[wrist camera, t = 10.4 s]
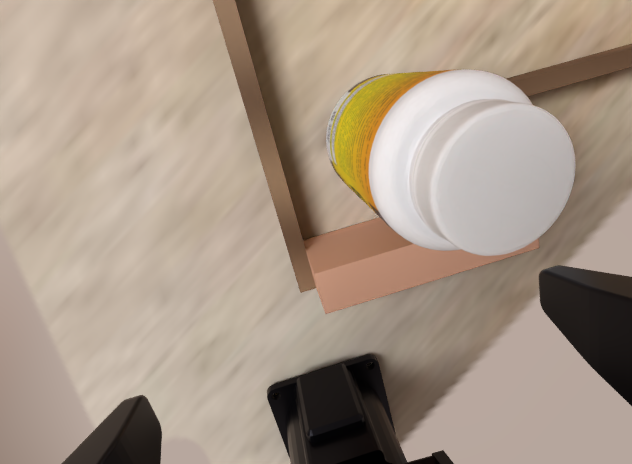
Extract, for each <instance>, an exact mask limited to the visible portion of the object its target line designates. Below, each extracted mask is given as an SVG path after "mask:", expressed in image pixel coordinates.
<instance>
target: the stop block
mask: <svg viewBox="0 0 632 464" xmlns="http://www.w3.org/2000/svg"><path fill="white" fill-rule="evenodd" d="M303 242H304V246H305V249H306V253H307V257H308V260H309V264H310V267H311V271H312V274H313V278H314V281H315V285H316V288H317V291H318V294H319V297H320V299H321V302H322V305H323V308H324V311H325V313H326V314H328V313H331V312H334V311H337V310H340V309H344V308H347V307H350V306H353V305H357V304H360V303H363V302H366V301H370V300H373V299H376V298H379V297H382V296H386V295H389V294H392V293H395V292H399V291H402V290H405V289H408V288H412V287H415V286H418V285H421V284H424V283H428V282H431V281H434V280H437V279H441V278H444V277H447V276H450V275H454V274H457V273H460V272H463V271H466V270H470V269H473V268H476V267H479V266H483V265H486V264H489V263H492V262H495V261H499V260H502V259H505V258H508V257H512V256H515V255H518V254H521V253H525V252H528V251H531V250H534V249H537V248H539V238H538V239H536V240H535V241H533V242H532V243H530V244H529V245H527V246H525V247H524V248H521V249H519V250H516V251H514V252H511V253H508V254H503V255H496V256H482V255H477V254H472V253H469V252H466V251H464V250H462V249H461V250H452V251H440V250H432V249H428V248H424V247H421V246H418V245H416V244H413V243H411V242H409V241H408V240H406V239H404V238H403V237H402V236H400V235H399V234H398V233H396V232H395V231H394V230H393V229H392V228H391V227H389V226H388V225H387V224H386V223H385V222H384V220H382V219H381V218H376V219H373V220H369V221H366V222H363V223H359V224H356V225H353V226H349V227H346V228H342V229H339V230H336V231H332V232H329V233H326V234H322V235H319V236H315V237H312V238H309V239H305V240H303Z"/></svg>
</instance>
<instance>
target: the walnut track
mask: <svg viewBox="0 0 632 464" xmlns="http://www.w3.org/2000/svg"><path fill="white" fill-rule="evenodd" d="M213 3H214V6H215V9H216V13H217V16H218V19H219V23H220V26H221V29H222V33H223V36H224V39H225V42H226V46H227V49H228V52H229V56H230V59H231V62H232V66H233V69H234V72H235V76H236V79H237V82H238V86H239V89H240V92H241V96H242V99H243V102H244V106H245V109H246V112H247V116H248V119H249V122H250V126H251V129H252V132H253V136H254V139H255V142H256V146H257V149H258V152H259V156H260V159H261V162H262V166H263V169H264V172H265V176H266V179H267V182H268V186H269V189H270V192H271V196H272V199H273V202H274V206H275V209H276V212H277V216H278V219H279V222H280V226H281V229H282V232H283V236H284V239H285V242H286V246H287V249H288V252H289V256H290V259H291V262H292V266H293V269H294V272H295V276H296V279H297V282H298V286H299V289H300V292H304V291H308V290H311V289H314V288H316V285H315V281H314V278H313V274H312V271H311V267H310V264H309V260H308V257H307V253H306V249H305V246H304V242H303V239H302V235H301V232H300V228H299V225H298V221H297V218H296V214H295V211H294V207H293V204H292V200H291V196H290V193H289V189H288V186H287V182H286V179H285V175H284V172H283V168H282V165H281V161H280V158H279V154H278V150H277V147H276V143H275V140H274V136H273V133H272V129H271V126H270V122H269V119H268V115H267V112H266V108H265V105H264V101H263V97H262V94H261V90H260V87H259V83H258V80H257V76H256V73H255V69H254V66H253V62H252V59H251V55H250V52H249V48H248V44H247V41H246V37H245V34H244V30H243V27H242V23H241V20H240V16H239V13H238V9H237V6H236V2H235V0H213ZM630 67H632V44H629V45H625V46H622V47H618V48H615V49H611V50H607V51H604V52H600V53H597V54H593V55H589V56H586V57H582V58H579V59H575V60H572V61H568V62H564V63H561V64H557V65H554V66H550V67H546V68H543V69H539V70H536V71H532V72H529V73H525V74H521V75H518V76H514V77H511V78H507V80H509V81H510V82H512V83H513V84H514V85H516V86H517V87H518V88H519V89H521V90H522V91H523V92H524V94H525V95H526V96H531V95H534V94H538V93H541V92H545V91H548V90H552V89H555V88H559V87H562V86H566V85H570V84H573V83H577V82H580V81H584V80H587V79H591V78H594V77H598V76H601V75H605V74H608V73H612V72H615V71H619V70H623V69H626V68H630Z"/></svg>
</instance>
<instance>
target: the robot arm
mask: <svg viewBox="0 0 632 464" xmlns="http://www.w3.org/2000/svg"><path fill="white" fill-rule="evenodd" d="M539 290H540V303H541V306H542V309H543V310H544V312H545V313H546V314H547V316H548V317H549V318H550V319H551V320H552V322H553V323H554V324H555V325H556V326H557V328H559V330H560V331H561V332H562V333H563V335H564V336H565V337H566V338H567V339H568V341H569V342H570V343H571V344H572V345H573V346H574V348H575V349H576V350H577V351H578V352H579V353H580V355H581V356H582V357H583V358H584V359H585V360H586V361H587V362H588V364H590V366H591V367H592V368H593V369H594V370H595V371H596V372H597V373H598V374H599V375H600V376H601V377H602V378H604V380H605V381H606V382H607V383H609V384H610V385H611V386H612V387H613V388H614V389H615V390H616V391H617V392H618V393H619V394H620V395H621V396H622V397H623V398H624V399H625V400H626V401H627V402H628V403H629V404H630V405H631V406H632V277H629V276H622V275H616V274H609V273H604V272H597V271H591V270H585V269H579V268H573V267H566V266H554V267H551V268H547V269H544V270H542V271H541V272H540V274H539ZM370 362H372V364H371V365H368V366H367V364H368V363H370ZM277 392H278V393H279V394H278V395H273V394H274V393H277ZM267 398H268V401H269V404H270V407H271V409H272V412H273V415H274V417H275V420H276V423H277V425H278V428H279V431H280V433H281V436H282V439H283V441H284V444H285V447H286V450H287V452H288V455H289V458H290V461H291V464H453V462H452V461H451V460H450V458H449V457H448V456H447V455H446V453H445V452H444V451H443V450H442V451H439V452H435V453H432V456H429V457H425V458H422V459H418V460H414V461H411V462H407V460H406V458H405V456H404V454H403V451H402V449H401V447H400V444H399V442H398V440H397V437H396V434H395V430H394V426H393V422H392V417H391V413H390V409H389V405H388V401H387V396H386V392H385V388H384V384H383V380H382V375H381V371H380V367H379V363H378V361H377V359H376V357H375V356H374V355H371V354H369V355H364V356H361V357H358V358H355V359H352V360H349V361H346V362H342V363H339V364H336V365H333V366H330V367H327V368H324V369H321V370H317V371H314V372H311V373H308V374H305V375H302V376H299V377H295V378H292V379H289V380H286V381H283V382H280V383H277V384H273V385H271V386H270V387H269V388H268V390H267ZM161 439H162V431H161V426H160V423H159V421H158V419H157V417H156V415H155V413H154V411H153V409H152V407H151V405H150V403H149V401H148V399H147V398H146V397H145V396H143V395H139V396H136V397H133V398H129V399H126V400H124V401H123V402H121V403H120V404H119V405H118V407H117V408H116V409H115V410H114V411H113V412H112V413H111V414H110V415H109V416H108V417H107V418H106V419H105V420H104V421H103V422H102V423H101V424H100V425H99V426H98V427H97V428H96V429H95V430H94V431H93V432H92V433H91V434H90V435H89V436H88V437H87V438H86V439H85V440H84V441H83V442H82V444H80V446H79V447H78V448H77V449H76V450H75V451H74V452H73V453H72V454H71V455H70V456H69V457H68V458H67V459H66V460H65V461H64V462H63V463H62V464H160V460H161Z"/></svg>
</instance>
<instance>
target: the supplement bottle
mask: <svg viewBox="0 0 632 464" xmlns="http://www.w3.org/2000/svg"><path fill="white" fill-rule="evenodd" d="M326 142H327V151H328V155H329V159H330V161H331V164H332V166H333V168H334V170H335V171H336V173H337V174H338V176H339V177H340V178H341V179H342V180H343V182H344V183H345V184H346V185H347V186H348V187H349V188H350V189H351V190H353V192H355V193H356V194H357V195H358V196H359V197H360V198H361V199H362V200H363V201H364V202H365V203H366V204H367V205H368V206H369V207H370V208H371V209H372V210H373V211H374V212H375V213H376V214H377V215H378V216H379V217H380V218H381V219H382V220H384V222H385V223H386V224H387V225H388V226H389V227H391V228H392V229H393V230H394V231H395V232H396V233H398V234H399V235H400V236H402V237H403V238H404V239H406V240H408V241H409V242H411V243H413V244H416V245H418V246H421V247H424V248H428V249H432V250H440V251H452V250H461V249H462V250H464V251H466V252H469V253H472V254H477V255H482V256H496V255H503V254H508V253H511V252H514V251H516V250H519V249H521V248H524V247H525V246H527V245H529V244H530V243H532V242H533V241H535V240H536V239H538V238H539V237H540V236H541V235H543V234H544V233H545V232H546V231H547V230H548V229H549V228H550V227H551V226H552V224H553V223H554V222H555V221H556V219H557V218H558V217H559V215H560V214H561V212H562V211H563V209H564V207H565V205H566V203H567V201H568V199H569V196H570V193H571V190H572V187H573V183H574V178H575V154H574V148H573V145H572V142H571V139H570V137H569V134H568V133H567V131H566V129H565V128H564V126H563V125H562V124H561V123H560V121H559V120H558V119H557V118H556V117H554V116H553V115H552V114H551V113H549V112H547V111H546V110H544V109H542V108H540V107H537V106H534V105H533V104H532V103H531V101H530V100H529V98H528V97H527V96H526V95H525V94H524V92H523V91H522V90H521V89H519V88H518V87H517V86H516V85H514V84H513V83H512V82H510V81H509V80H507V79H505V78H503V77H501V76H499V75H497V74H493V73H490V72H486V71H481V70H468V69H458V70H445V71H430V72H412V73H397V74H384V75H378V76H374V77H371V78H368V79H365V80H363V81H361V82H359V83H358V84H356V85H354V86H353V87H352V88H350V89H349V90H348V91H347V92H346V93H345V94H344V95H343V96H342V98H341V99H340V100H339V101H338V103H337V104H336V106H335V108H334V110H333V112H332V114H331V117H330V120H329V123H328V127H327V136H326Z"/></svg>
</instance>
